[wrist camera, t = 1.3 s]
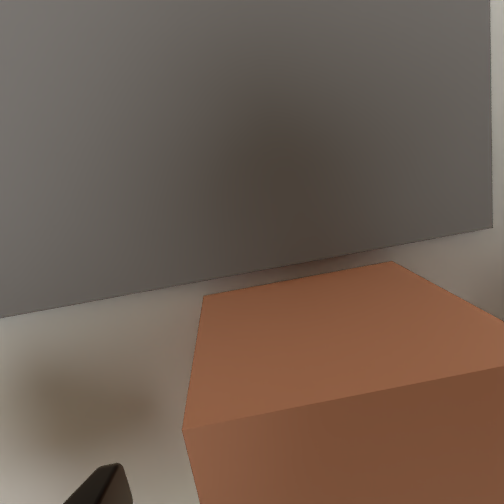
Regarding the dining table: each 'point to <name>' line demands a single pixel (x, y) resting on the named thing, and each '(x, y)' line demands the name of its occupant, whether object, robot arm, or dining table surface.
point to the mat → (232, 137)
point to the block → (346, 393)
